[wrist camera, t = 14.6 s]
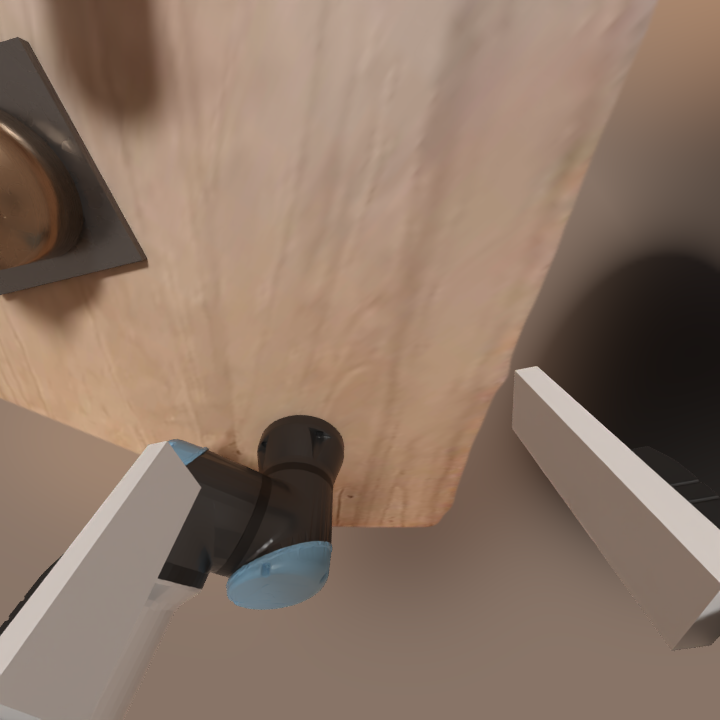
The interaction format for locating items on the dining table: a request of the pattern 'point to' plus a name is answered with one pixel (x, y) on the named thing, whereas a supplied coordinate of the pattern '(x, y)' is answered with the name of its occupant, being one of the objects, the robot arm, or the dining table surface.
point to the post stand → (50, 186)
